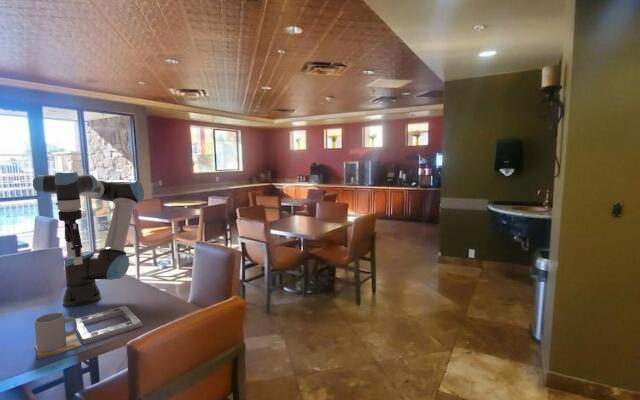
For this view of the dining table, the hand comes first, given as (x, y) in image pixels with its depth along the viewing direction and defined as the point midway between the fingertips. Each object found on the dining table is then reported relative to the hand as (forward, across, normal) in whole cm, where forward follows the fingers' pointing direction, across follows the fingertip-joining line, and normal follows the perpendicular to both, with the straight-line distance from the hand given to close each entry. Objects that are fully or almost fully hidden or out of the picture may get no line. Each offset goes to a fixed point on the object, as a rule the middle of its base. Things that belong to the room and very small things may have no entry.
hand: (74, 260), depth 139 cm
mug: (+26, +18, -10) cm, 33 cm away
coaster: (+26, +17, -10) cm, 33 cm away
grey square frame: (+27, +12, +7) cm, 30 cm away
